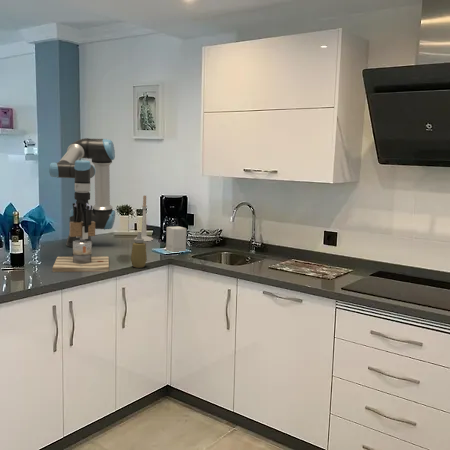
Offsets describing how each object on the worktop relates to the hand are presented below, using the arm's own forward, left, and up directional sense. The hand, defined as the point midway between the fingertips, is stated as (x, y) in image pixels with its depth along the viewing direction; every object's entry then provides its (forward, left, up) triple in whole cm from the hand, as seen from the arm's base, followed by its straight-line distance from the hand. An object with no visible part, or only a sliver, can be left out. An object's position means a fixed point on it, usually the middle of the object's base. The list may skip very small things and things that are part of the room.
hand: (82, 238), depth 257 cm
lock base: (0, 0, -14) cm, 14 cm away
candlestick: (-75, +36, -14) cm, 85 cm away
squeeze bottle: (+3, +28, -14) cm, 32 cm away
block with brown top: (+1, 0, -8) cm, 8 cm away
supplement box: (-34, +52, -14) cm, 64 cm away
